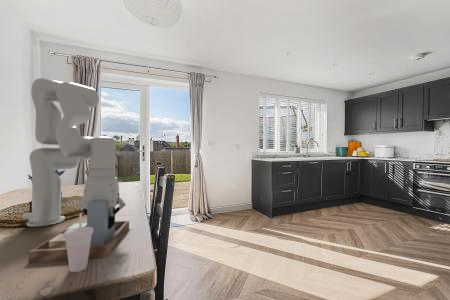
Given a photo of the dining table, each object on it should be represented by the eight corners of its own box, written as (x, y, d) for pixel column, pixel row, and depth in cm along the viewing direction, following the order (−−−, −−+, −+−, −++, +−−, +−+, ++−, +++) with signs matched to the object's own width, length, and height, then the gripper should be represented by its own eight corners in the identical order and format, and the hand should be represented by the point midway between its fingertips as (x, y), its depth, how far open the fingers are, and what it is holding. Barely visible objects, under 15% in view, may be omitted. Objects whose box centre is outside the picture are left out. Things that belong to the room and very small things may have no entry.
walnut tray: (28, 262, 58) (28, 251, 58) (74, 230, 82) (74, 223, 82) (106, 257, 62) (106, 246, 62) (129, 228, 85) (129, 220, 85)
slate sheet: (86, 247, 67) (87, 202, 67) (99, 235, 77) (100, 195, 77) (103, 246, 68) (104, 202, 68) (114, 234, 78) (115, 195, 78)
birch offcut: (48, 255, 63) (49, 241, 63) (59, 246, 69) (59, 233, 69) (68, 253, 64) (68, 240, 64) (77, 245, 70) (77, 232, 70)
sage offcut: (65, 243, 71) (65, 229, 72) (74, 236, 77) (74, 223, 77) (81, 242, 72) (81, 228, 72) (89, 235, 78) (89, 222, 78)
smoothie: (98, 261, 59) (98, 210, 59) (83, 275, 53) (84, 217, 53) (74, 262, 59) (74, 210, 59) (56, 275, 52) (57, 217, 53)
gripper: (68, 174, 68) (67, 233, 68) (126, 174, 71) (125, 230, 70) (80, 172, 75) (79, 225, 75) (132, 172, 78) (131, 223, 78)
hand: (101, 227), depth 73 cm, fingers closed on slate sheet, 5 cm apart
